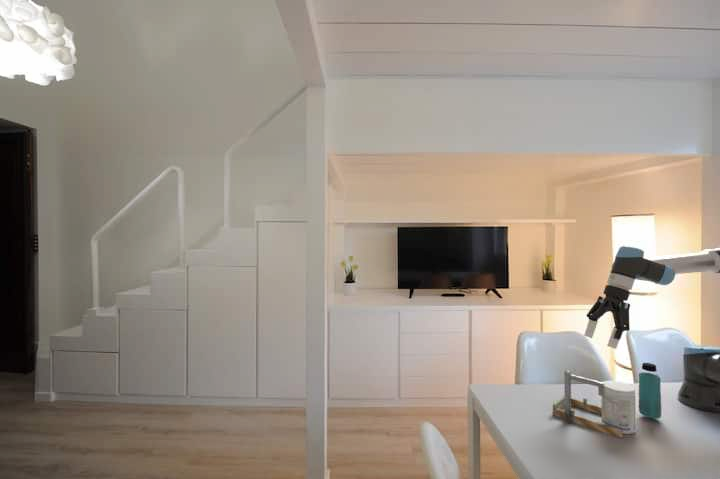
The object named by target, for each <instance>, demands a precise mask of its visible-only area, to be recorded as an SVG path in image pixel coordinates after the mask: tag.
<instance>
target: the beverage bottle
mask: <svg viewBox="0 0 720 479" xmlns="http://www.w3.org/2000/svg"><path fill="white" fill-rule="evenodd" d="M641 369H642V370H643V371H641V372H639V373H638V400H637V401H638V411H639V414H641V415H642V416H644V417H648V418H649V419H650V418H651V419H657V420H658V419H661V417H662V394H661V393H662V392H661V377H660V376H659V375H658V374H657V371H658V370H657V365H656V364H654V363H650V362H642V365H641ZM654 372H656V373H654Z"/></svg>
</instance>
